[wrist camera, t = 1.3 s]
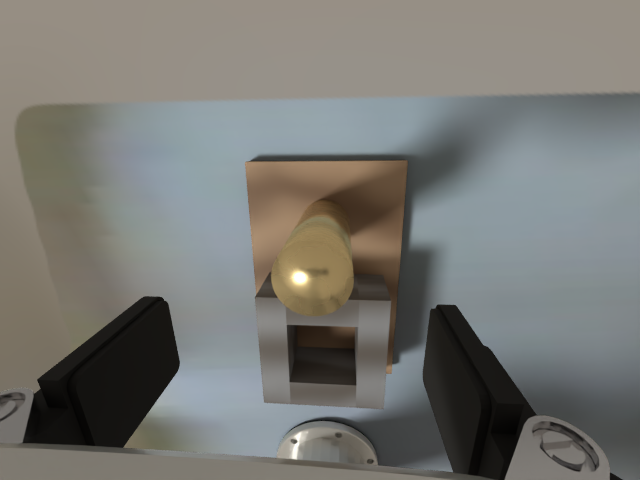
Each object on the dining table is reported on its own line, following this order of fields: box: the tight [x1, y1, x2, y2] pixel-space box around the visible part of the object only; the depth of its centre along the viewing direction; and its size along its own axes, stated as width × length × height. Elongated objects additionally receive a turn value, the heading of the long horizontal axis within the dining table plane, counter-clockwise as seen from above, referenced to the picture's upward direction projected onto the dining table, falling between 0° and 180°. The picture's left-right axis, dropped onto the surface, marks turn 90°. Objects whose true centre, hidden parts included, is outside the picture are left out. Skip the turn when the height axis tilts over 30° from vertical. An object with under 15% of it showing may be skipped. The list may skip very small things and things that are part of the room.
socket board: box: [245, 160, 408, 409], centre depth 27 cm, size 22×14×6 cm, turn 1°
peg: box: [271, 200, 354, 316], centre depth 21 cm, size 4×4×12 cm
